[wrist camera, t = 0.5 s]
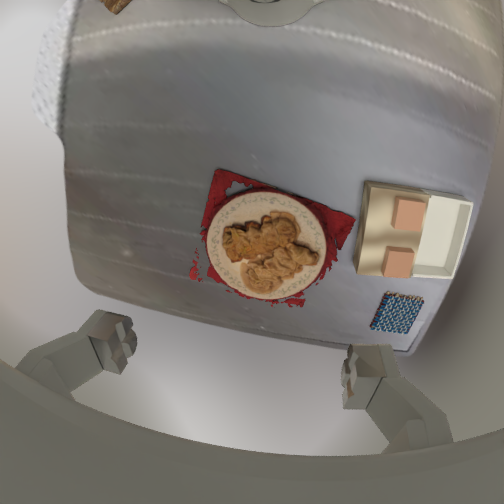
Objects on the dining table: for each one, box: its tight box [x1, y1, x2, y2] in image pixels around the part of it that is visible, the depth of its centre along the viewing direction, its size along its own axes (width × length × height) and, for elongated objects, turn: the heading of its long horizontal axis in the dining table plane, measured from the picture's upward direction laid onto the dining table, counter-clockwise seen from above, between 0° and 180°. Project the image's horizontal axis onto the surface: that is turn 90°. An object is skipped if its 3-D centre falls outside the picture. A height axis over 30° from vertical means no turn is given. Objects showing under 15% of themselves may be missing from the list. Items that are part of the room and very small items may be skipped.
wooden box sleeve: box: [353, 181, 430, 278], centre depth 48 cm, size 16×11×5 cm
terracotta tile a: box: [391, 196, 426, 232], centre depth 42 cm, size 5×5×2 cm
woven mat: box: [370, 292, 424, 335], centre depth 57 cm, size 10×11×2 cm
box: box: [412, 188, 473, 279], centre depth 47 cm, size 16×10×4 cm, turn 0°
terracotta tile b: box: [381, 246, 415, 278], centre depth 46 cm, size 5×5×2 cm
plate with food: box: [189, 170, 356, 307], centre depth 55 cm, size 25×26×4 cm
